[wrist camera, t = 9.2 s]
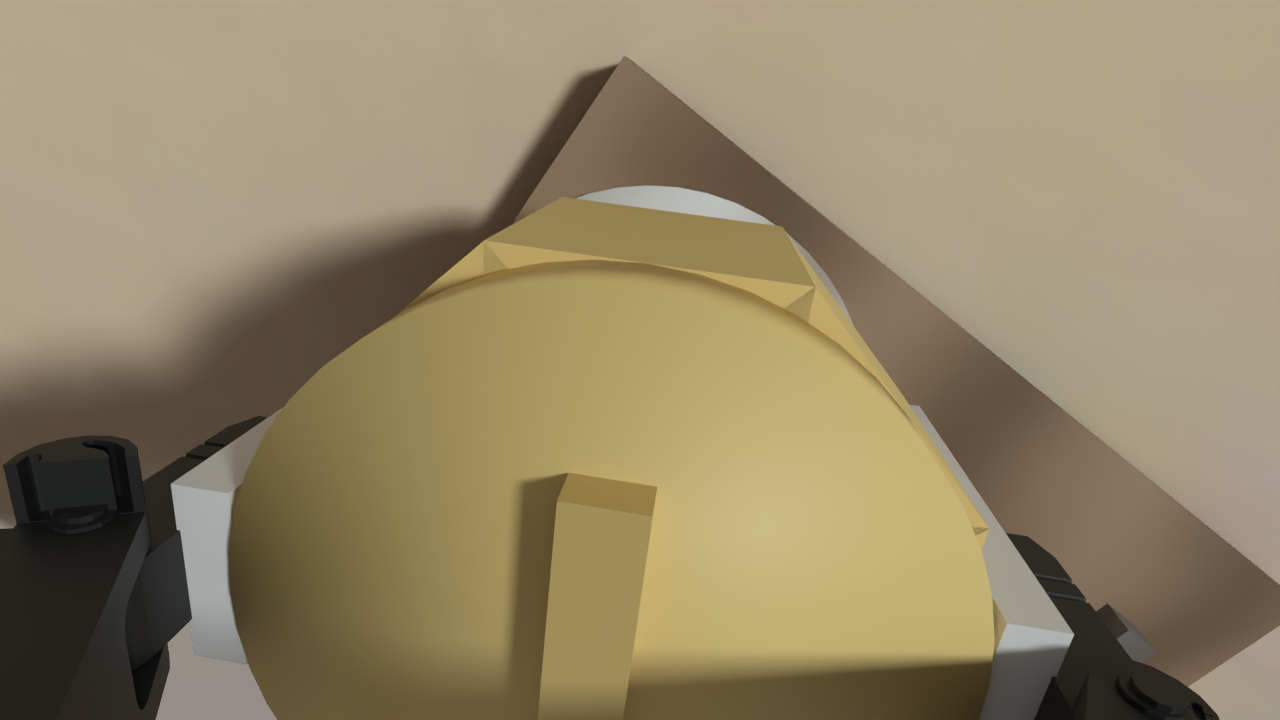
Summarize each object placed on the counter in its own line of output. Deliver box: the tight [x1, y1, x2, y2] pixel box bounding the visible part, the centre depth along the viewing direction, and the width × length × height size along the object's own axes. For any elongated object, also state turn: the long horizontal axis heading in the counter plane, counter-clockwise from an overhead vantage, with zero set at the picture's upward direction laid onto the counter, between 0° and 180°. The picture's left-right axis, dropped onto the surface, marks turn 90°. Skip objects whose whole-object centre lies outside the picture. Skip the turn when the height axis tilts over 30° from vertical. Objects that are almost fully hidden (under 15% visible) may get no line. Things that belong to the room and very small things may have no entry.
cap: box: [229, 197, 995, 720], centre depth 11 cm, size 9×9×6 cm
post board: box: [511, 56, 1280, 687], centre depth 13 cm, size 20×11×9 cm, turn 53°
